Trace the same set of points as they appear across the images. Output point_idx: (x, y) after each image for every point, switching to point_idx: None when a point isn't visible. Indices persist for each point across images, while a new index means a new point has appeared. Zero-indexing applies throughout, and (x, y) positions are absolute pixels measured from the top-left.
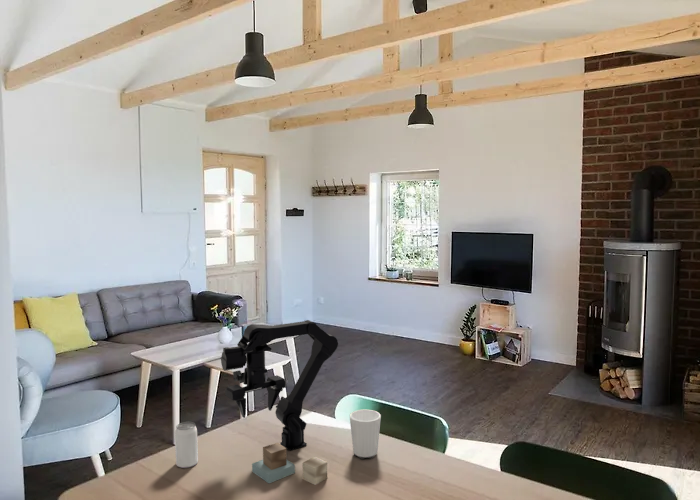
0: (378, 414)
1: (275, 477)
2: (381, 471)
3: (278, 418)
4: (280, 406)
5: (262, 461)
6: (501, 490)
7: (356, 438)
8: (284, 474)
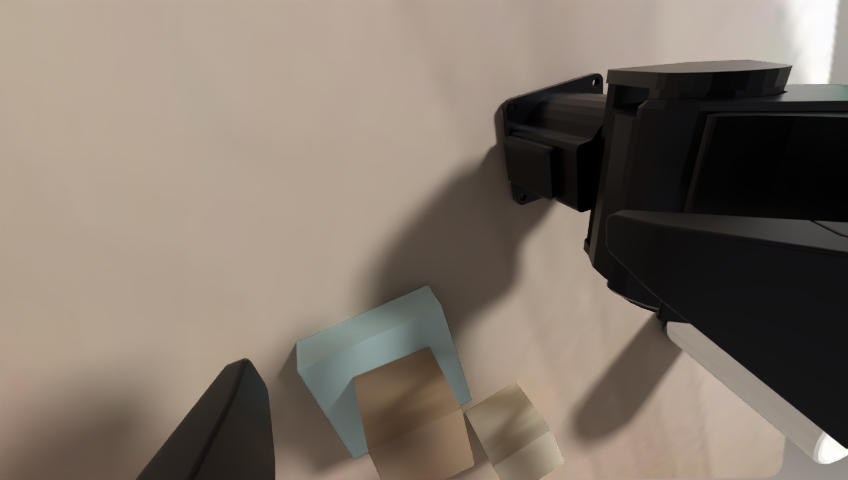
0: None
1: None
2: (653, 396)
3: (608, 171)
4: (737, 205)
5: (353, 360)
6: (737, 468)
7: (726, 379)
8: None
